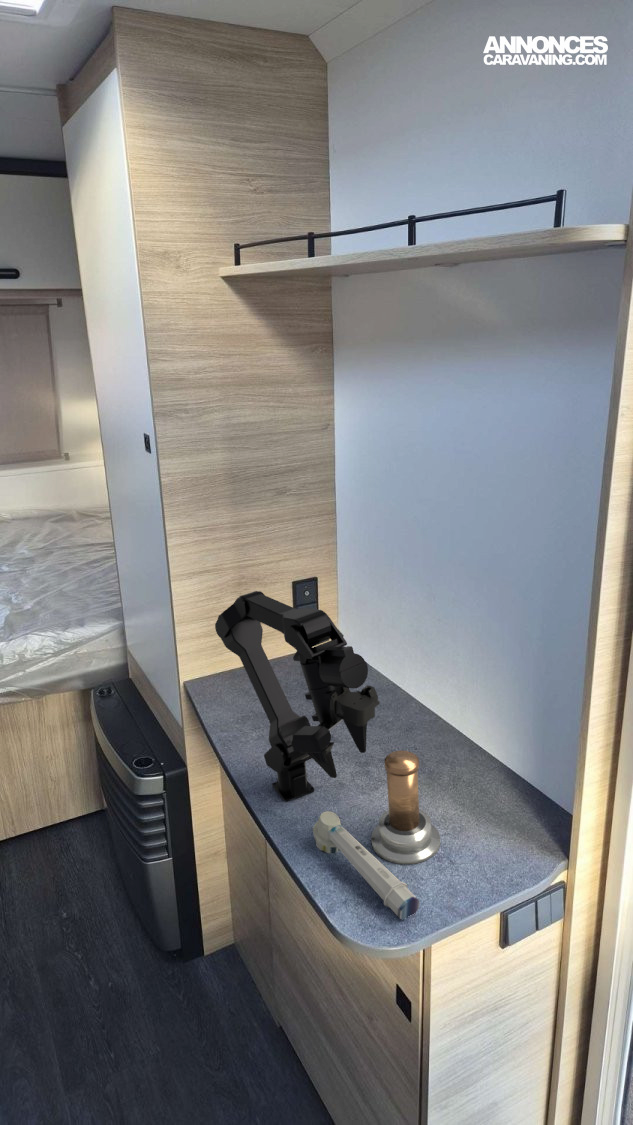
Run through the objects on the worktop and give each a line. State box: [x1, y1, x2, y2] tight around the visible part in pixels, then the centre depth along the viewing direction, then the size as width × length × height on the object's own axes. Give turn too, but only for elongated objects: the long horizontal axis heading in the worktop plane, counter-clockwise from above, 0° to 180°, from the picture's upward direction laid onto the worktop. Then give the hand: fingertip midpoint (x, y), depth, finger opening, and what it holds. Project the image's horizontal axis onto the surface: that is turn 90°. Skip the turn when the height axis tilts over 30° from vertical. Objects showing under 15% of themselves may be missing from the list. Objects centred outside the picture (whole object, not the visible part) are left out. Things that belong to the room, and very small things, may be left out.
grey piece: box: [312, 810, 420, 921], centre depth 131 cm, size 5×7×25 cm
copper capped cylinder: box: [384, 750, 420, 831], centre depth 135 cm, size 6×6×12 cm
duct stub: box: [370, 808, 441, 866], centre depth 138 cm, size 12×12×4 cm
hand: (349, 764), depth 140 cm, fingers open, 9 cm apart
